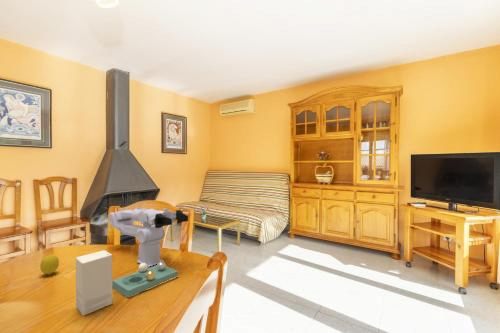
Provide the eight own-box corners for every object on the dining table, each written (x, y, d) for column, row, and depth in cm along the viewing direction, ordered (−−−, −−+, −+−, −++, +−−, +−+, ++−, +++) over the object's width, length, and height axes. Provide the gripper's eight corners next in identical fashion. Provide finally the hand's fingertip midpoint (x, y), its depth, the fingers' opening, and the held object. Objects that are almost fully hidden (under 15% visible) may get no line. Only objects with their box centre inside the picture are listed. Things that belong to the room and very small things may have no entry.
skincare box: (105, 297, 80) (105, 249, 80) (113, 304, 76) (114, 254, 76) (74, 308, 74) (74, 256, 74) (82, 317, 70) (82, 262, 69)
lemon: (48, 278, 92) (48, 257, 92) (36, 277, 93) (36, 255, 93) (62, 272, 97) (62, 252, 97) (50, 270, 98) (51, 250, 98)
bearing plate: (160, 269, 101) (161, 263, 101) (177, 277, 95) (177, 271, 95) (112, 287, 86) (112, 280, 86) (128, 298, 80) (128, 290, 80)
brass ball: (143, 280, 87) (144, 271, 87) (152, 277, 89) (152, 268, 89) (148, 282, 85) (149, 273, 85) (157, 279, 87) (157, 270, 87)
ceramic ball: (136, 271, 93) (136, 263, 93) (144, 268, 96) (144, 260, 96) (141, 274, 92) (141, 265, 91) (149, 271, 94) (149, 262, 94)
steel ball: (155, 270, 95) (155, 262, 95) (162, 267, 97) (162, 259, 97) (159, 272, 93) (160, 264, 93) (167, 269, 95) (167, 261, 95)
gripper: (142, 210, 99) (162, 212, 91) (173, 205, 111) (193, 207, 102) (143, 228, 99) (163, 231, 91) (174, 221, 110) (194, 224, 102)
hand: (179, 220), depth 96 cm, fingers open, 7 cm apart
